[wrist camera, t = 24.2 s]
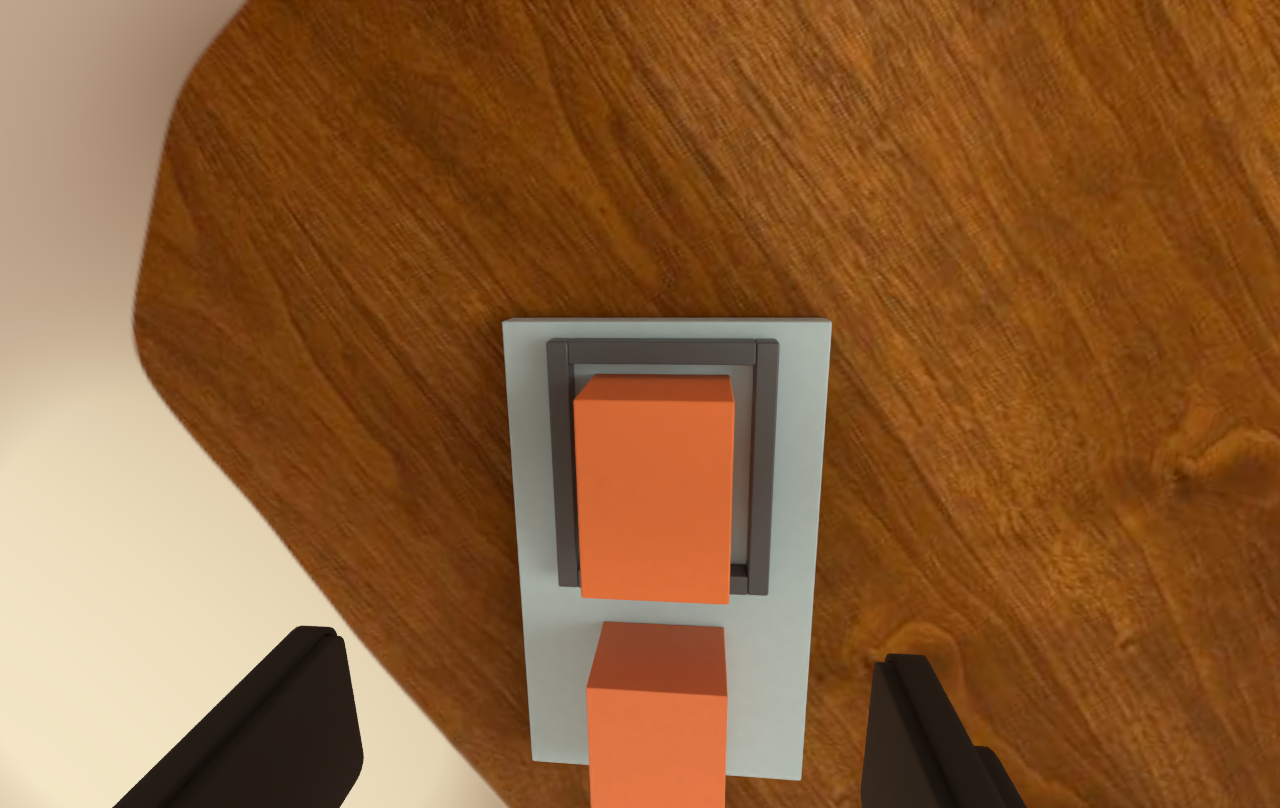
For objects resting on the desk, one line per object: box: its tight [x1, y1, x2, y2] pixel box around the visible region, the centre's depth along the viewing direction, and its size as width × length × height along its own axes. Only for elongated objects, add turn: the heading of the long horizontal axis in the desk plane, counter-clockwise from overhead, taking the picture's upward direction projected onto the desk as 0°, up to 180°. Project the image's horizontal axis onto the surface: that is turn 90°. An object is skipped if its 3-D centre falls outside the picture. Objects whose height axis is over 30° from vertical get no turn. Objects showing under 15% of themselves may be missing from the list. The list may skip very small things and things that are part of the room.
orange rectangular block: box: [573, 374, 735, 605], centre depth 22 cm, size 5×7×4 cm
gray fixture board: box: [502, 318, 832, 808], centre depth 23 cm, size 12×20×5 cm, turn 1°
